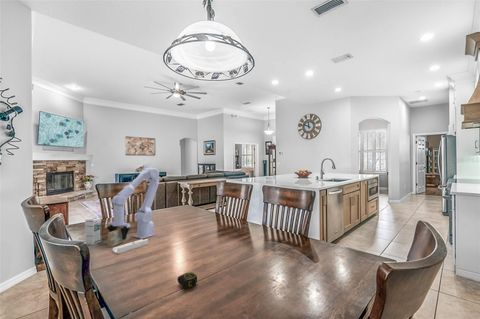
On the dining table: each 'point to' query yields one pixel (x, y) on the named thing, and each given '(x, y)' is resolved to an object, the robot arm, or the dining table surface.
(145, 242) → the bar
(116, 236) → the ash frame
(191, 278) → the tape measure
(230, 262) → the dining table surface
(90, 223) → the syrup box
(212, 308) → the dining table surface
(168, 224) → the dining table surface
